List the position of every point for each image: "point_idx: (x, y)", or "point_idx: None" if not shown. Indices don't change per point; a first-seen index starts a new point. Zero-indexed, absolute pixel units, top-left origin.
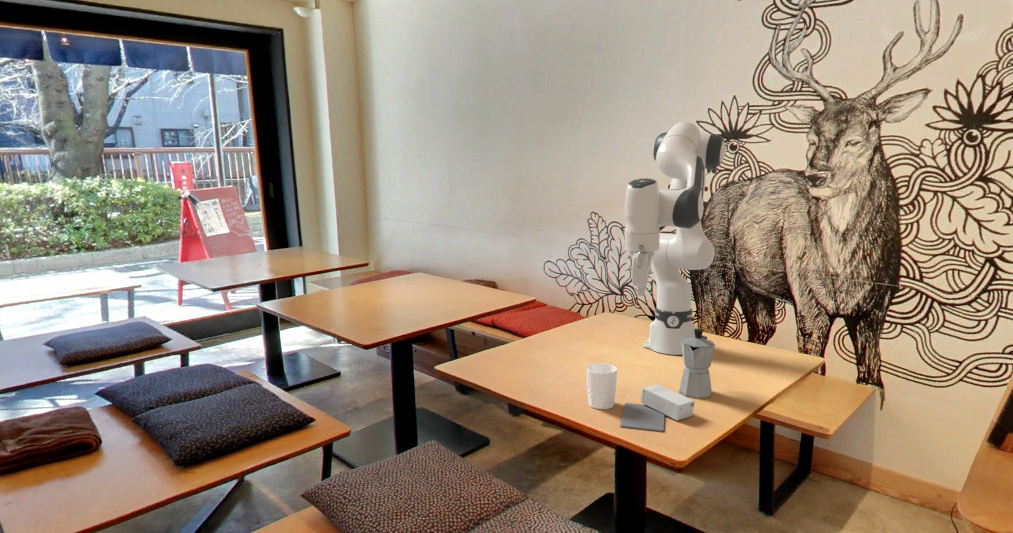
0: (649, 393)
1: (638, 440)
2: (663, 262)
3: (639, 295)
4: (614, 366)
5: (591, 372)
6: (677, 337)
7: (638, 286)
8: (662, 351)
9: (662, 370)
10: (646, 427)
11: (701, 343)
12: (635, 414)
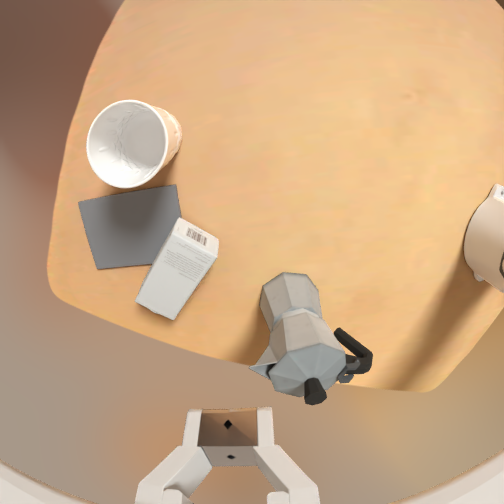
0: (163, 246)
1: (57, 238)
2: None
3: (190, 411)
4: (152, 173)
5: (90, 128)
6: (487, 259)
7: (162, 467)
8: (473, 221)
9: (394, 228)
10: (92, 243)
11: (285, 384)
12: (129, 216)
